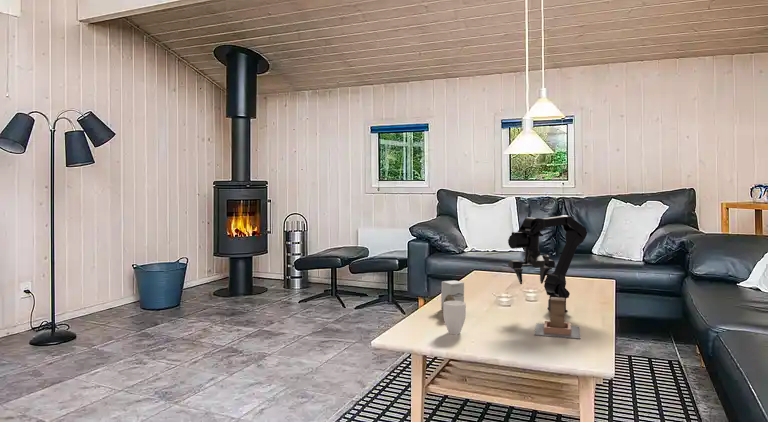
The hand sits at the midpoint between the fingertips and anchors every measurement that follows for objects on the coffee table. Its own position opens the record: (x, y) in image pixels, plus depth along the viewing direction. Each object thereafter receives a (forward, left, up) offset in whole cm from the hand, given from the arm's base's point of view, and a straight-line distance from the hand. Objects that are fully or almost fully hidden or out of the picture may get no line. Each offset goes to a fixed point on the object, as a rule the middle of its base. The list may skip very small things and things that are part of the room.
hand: (531, 283), depth 229 cm
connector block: (+1, +26, -13) cm, 29 cm away
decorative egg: (+36, +1, -13) cm, 38 cm away
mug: (+39, +20, -13) cm, 46 cm away
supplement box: (+31, -12, -13) cm, 36 cm away
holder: (+1, +26, -13) cm, 29 cm away
